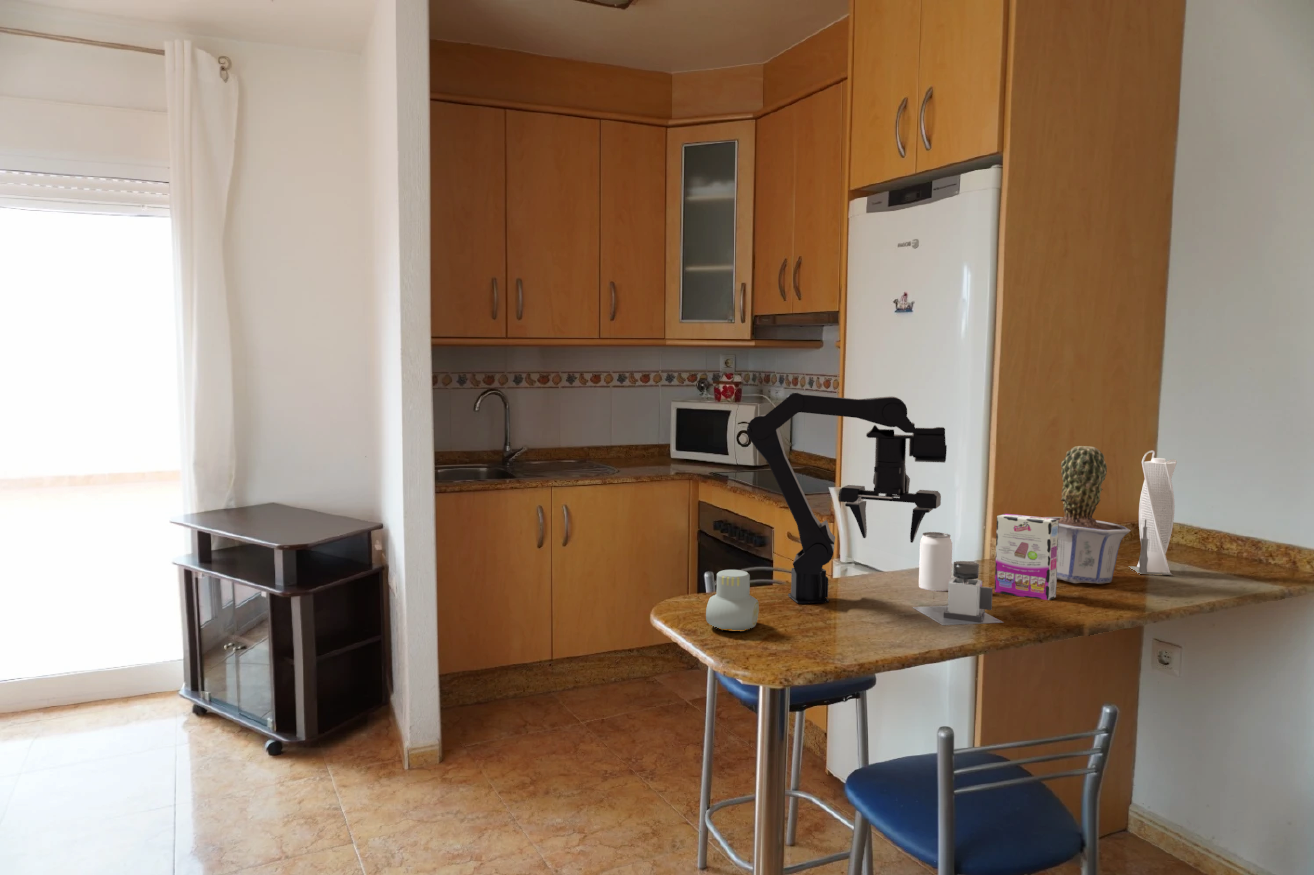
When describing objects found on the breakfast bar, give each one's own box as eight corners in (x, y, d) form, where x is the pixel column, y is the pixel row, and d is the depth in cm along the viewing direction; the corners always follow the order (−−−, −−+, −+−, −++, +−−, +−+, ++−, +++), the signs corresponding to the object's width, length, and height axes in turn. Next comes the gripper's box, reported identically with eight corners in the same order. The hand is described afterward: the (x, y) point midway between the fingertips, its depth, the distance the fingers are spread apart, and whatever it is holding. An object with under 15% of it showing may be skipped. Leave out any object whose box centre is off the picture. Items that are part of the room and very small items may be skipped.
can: (952, 595, 182) (954, 538, 181) (919, 593, 183) (921, 536, 182) (948, 587, 188) (950, 532, 187) (917, 586, 189) (919, 531, 188)
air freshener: (750, 638, 152) (751, 581, 151) (703, 634, 154) (704, 578, 153) (760, 621, 162) (761, 567, 162) (716, 617, 165) (716, 564, 164)
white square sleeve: (943, 617, 162) (944, 583, 162) (949, 609, 168) (950, 575, 168) (989, 623, 159) (990, 588, 158) (993, 614, 165) (994, 580, 164)
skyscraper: (1126, 566, 209) (1132, 449, 207) (1162, 568, 208) (1168, 450, 206) (1140, 574, 201) (1146, 453, 199) (1178, 576, 200) (1185, 453, 198)
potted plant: (1132, 593, 185) (1140, 450, 182) (1040, 585, 190) (1046, 447, 188) (1118, 574, 201) (1124, 443, 199) (1033, 568, 207) (1038, 441, 205)
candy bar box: (1056, 597, 181) (1060, 518, 179) (1048, 602, 177) (1051, 521, 176) (1002, 588, 188) (1005, 512, 187) (993, 592, 184) (996, 514, 183)
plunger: (950, 605, 163) (951, 564, 162) (954, 600, 167) (955, 560, 166) (975, 608, 161) (977, 567, 160) (978, 603, 165) (980, 562, 164)
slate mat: (942, 629, 158) (942, 625, 158) (911, 611, 170) (912, 607, 170) (1003, 626, 160) (1003, 622, 160) (969, 608, 172) (969, 604, 172)
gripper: (946, 459, 175) (944, 537, 176) (853, 455, 183) (851, 529, 184) (937, 465, 165) (934, 547, 166) (838, 459, 173) (837, 538, 174)
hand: (888, 540), depth 173 cm, fingers open, 9 cm apart
